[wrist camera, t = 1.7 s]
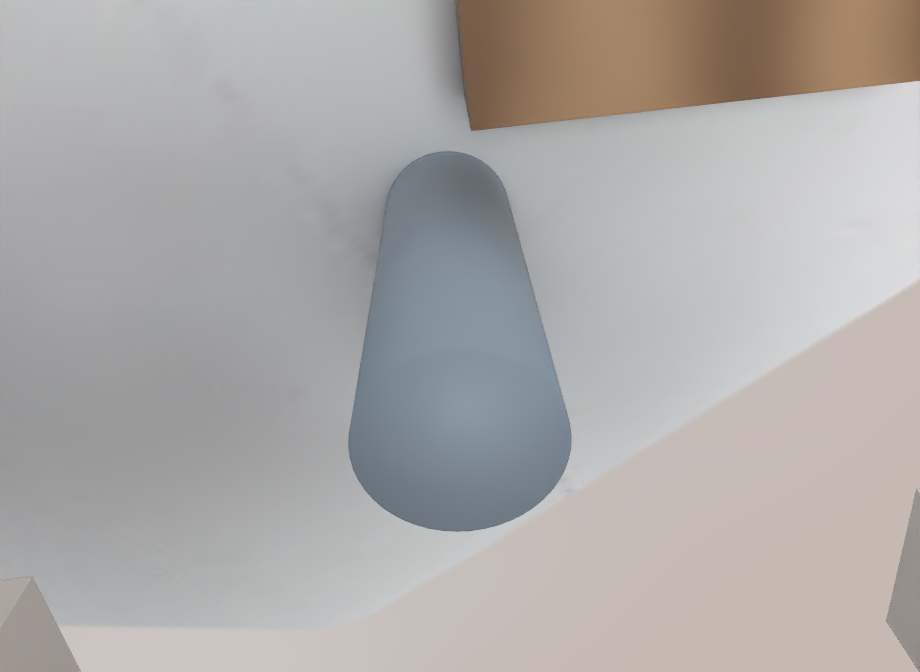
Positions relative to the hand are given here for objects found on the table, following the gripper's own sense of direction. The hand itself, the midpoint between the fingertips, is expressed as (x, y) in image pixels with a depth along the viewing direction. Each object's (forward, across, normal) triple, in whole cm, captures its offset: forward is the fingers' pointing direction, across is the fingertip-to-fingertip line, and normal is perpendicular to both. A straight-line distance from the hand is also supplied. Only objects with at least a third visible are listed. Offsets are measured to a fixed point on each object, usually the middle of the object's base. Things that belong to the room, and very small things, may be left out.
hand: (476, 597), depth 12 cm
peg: (+18, 0, 0) cm, 18 cm away
